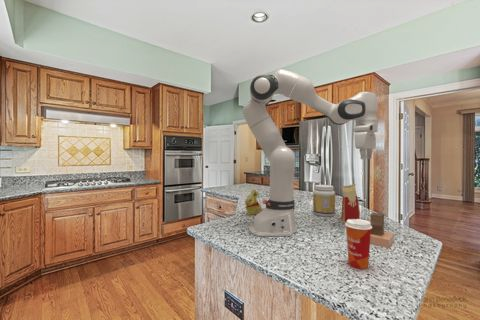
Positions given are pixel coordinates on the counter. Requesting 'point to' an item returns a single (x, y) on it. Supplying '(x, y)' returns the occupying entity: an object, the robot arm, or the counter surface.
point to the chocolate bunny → (253, 203)
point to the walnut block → (377, 224)
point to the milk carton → (350, 204)
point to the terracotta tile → (382, 239)
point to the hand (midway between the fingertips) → (366, 159)
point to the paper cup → (358, 242)
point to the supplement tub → (324, 200)
